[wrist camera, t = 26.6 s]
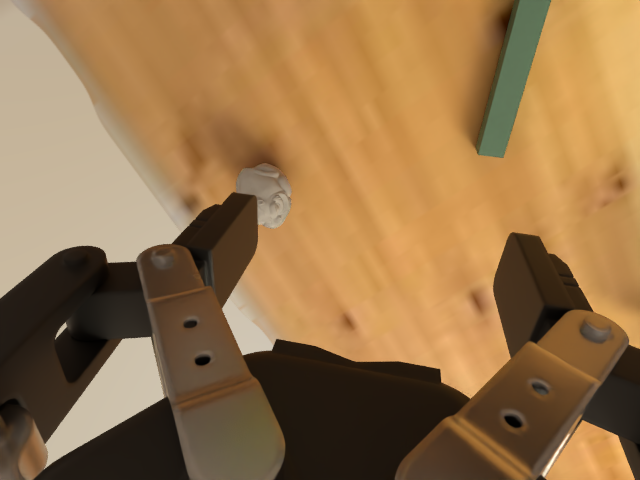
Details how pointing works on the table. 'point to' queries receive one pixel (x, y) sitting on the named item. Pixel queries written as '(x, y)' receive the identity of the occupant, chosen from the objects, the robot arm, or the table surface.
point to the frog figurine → (267, 192)
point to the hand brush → (511, 75)
